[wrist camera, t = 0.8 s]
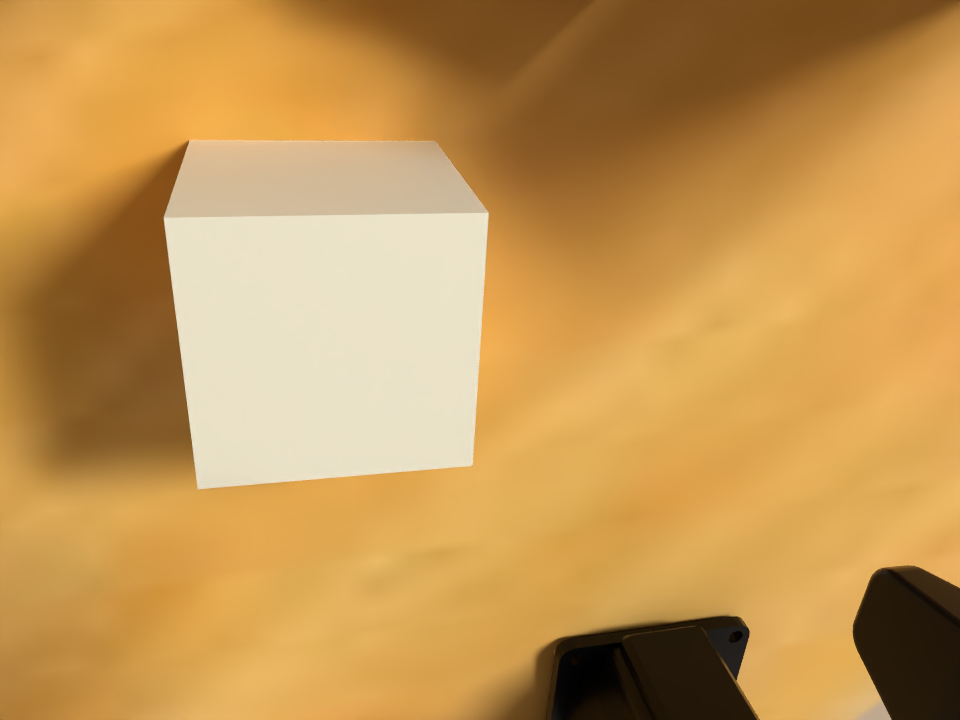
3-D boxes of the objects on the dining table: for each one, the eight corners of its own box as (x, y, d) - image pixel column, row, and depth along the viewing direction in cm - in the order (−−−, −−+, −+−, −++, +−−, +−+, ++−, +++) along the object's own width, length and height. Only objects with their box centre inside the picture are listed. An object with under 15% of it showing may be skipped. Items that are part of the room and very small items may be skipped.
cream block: (428, 347, 20) (472, 465, 16) (213, 358, 19) (197, 489, 15) (434, 140, 18) (488, 213, 13) (189, 139, 17) (163, 218, 12)
